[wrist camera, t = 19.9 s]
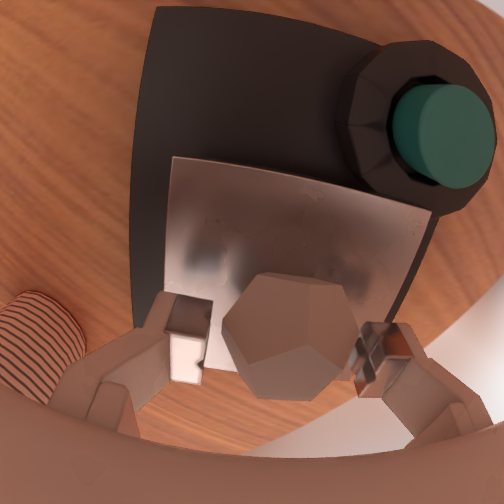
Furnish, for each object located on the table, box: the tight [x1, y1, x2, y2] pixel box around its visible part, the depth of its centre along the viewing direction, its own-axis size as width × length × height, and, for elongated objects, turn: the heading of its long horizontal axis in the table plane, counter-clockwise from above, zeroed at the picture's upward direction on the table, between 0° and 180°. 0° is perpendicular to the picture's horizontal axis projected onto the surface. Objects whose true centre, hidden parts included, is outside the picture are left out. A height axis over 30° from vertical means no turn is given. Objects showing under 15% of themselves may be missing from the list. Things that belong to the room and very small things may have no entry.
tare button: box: [392, 84, 495, 189], centre depth 7 cm, size 3×3×2 cm
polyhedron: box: [221, 272, 360, 401], centre depth 8 cm, size 4×4×3 cm
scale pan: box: [163, 154, 432, 381], centre depth 10 cm, size 8×8×1 cm
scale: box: [129, 6, 497, 328], centre depth 10 cm, size 14×12×3 cm
